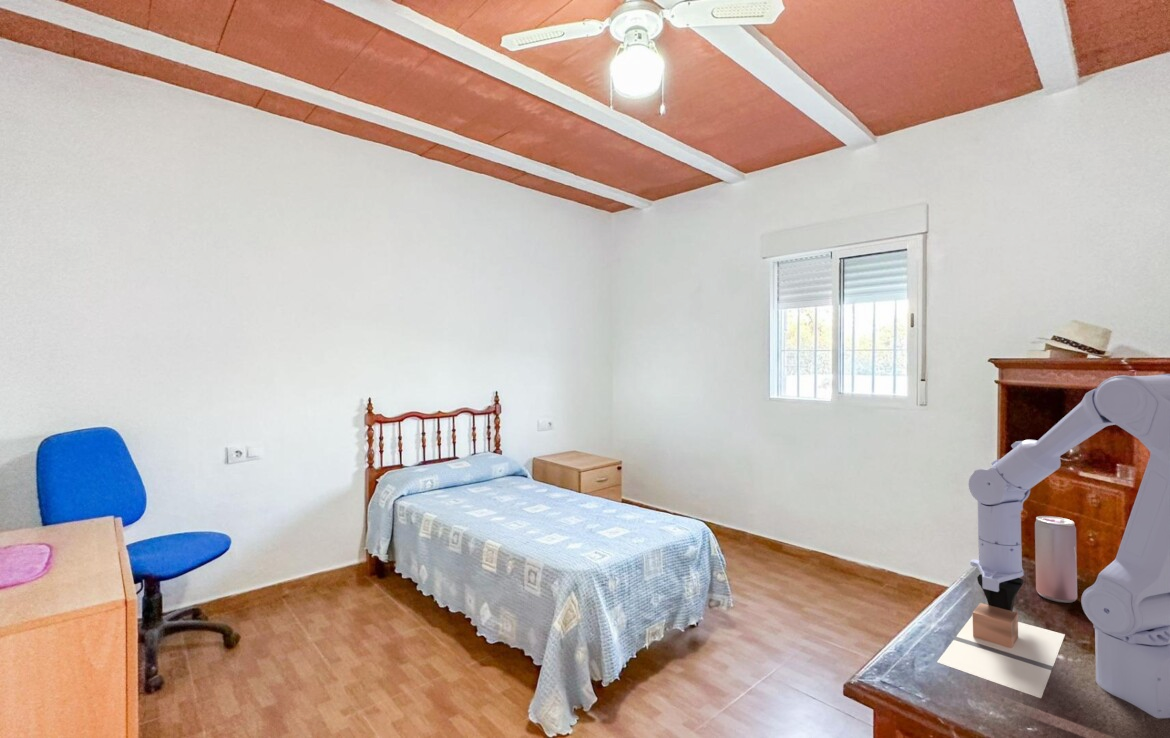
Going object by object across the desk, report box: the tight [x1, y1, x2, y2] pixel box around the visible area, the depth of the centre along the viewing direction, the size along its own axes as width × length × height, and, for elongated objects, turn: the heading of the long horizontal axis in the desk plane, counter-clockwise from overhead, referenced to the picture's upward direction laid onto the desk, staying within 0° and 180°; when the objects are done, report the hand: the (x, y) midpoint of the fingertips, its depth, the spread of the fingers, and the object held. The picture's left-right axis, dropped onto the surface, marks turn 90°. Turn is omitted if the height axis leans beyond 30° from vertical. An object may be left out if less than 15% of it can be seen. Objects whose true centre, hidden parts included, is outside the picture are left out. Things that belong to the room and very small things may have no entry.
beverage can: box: [1034, 515, 1078, 604], centre depth 102 cm, size 6×6×15 cm
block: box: [972, 602, 1019, 648], centre depth 86 cm, size 5×5×4 cm
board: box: [936, 614, 1066, 699], centre depth 83 cm, size 24×12×1 cm, turn 132°
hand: (1001, 620), depth 89 cm, fingers closed
